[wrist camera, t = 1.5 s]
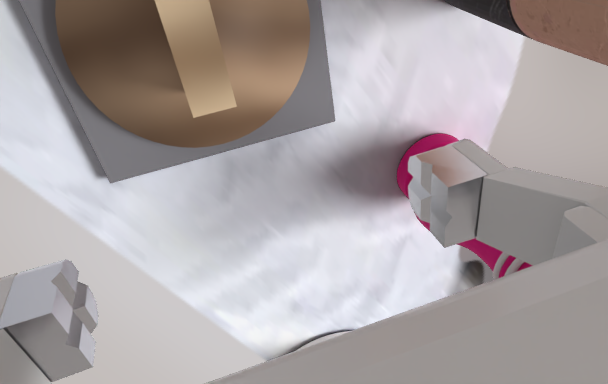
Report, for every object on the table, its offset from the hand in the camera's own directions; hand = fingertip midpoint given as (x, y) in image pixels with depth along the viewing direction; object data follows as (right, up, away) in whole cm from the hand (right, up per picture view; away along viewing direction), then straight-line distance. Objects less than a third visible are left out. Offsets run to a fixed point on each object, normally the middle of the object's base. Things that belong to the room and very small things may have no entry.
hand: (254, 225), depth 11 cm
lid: (-5, +10, +15) cm, 19 cm away
